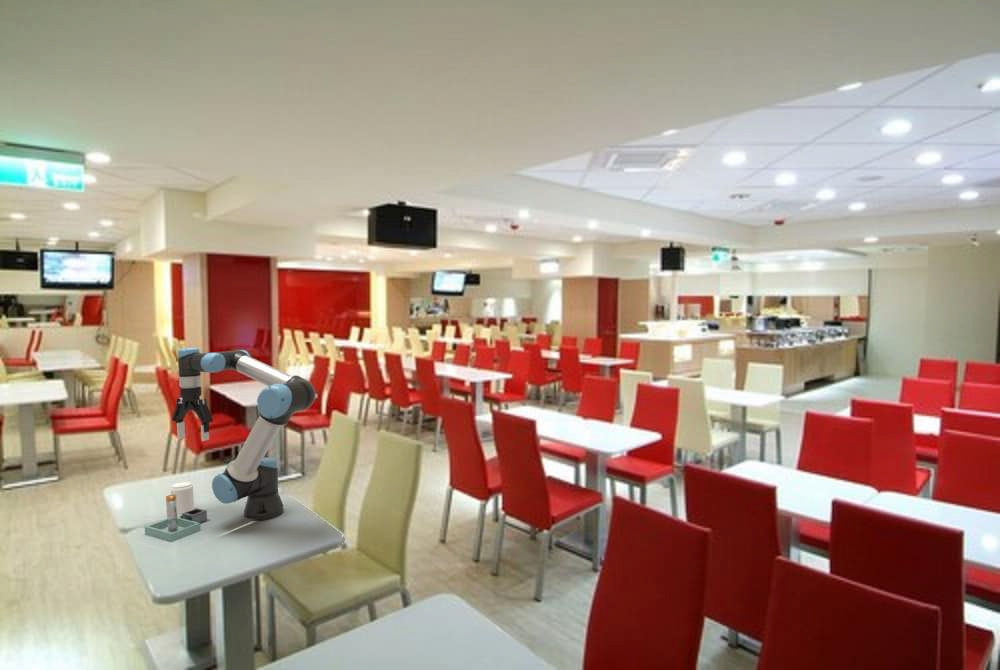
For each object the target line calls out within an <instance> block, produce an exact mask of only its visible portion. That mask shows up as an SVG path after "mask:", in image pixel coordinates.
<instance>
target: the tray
mask: <svg viewBox="0 0 1000 670" xmlns="http://www.w3.org/2000/svg"><path fill="white" fill-rule="evenodd" d="M177 521H178V527H181V529H178V531H175V532H173V533H171V532H168V530H163V529H166V528H168V523H167V518H165V519H163V520H160V521H157V522H154V523H151V524H149V525H145V526H144V535H147V536H150V537H154V538H157V539H161V540H163V541H164V540H165V541H167V542H175V541H177V540H180V539H182V538H185V537H187V536H190V535H193V534H195V533H197V532H200V531H201V524H200V523H198V522H194V521H190V520H186V519H182V518H180V517H178V516H177Z"/></svg>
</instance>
